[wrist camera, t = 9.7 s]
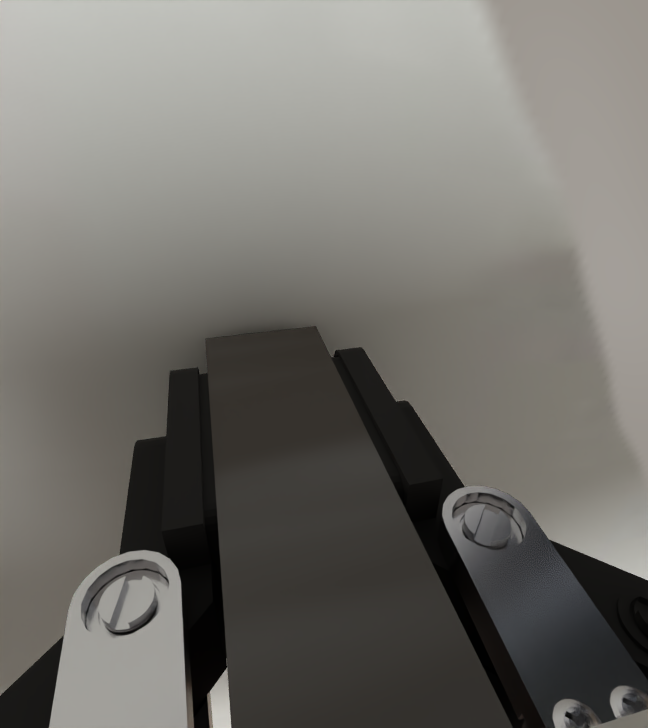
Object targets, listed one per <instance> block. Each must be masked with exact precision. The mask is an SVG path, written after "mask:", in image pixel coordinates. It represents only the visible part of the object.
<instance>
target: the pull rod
mask: <svg viewBox="0 0 648 728" xmlns="http://www.w3.org/2000/svg"><path fill="white" fill-rule="evenodd" d="M205 340H206V355H207V370H208V385H209V400H210V415H211V430H212V445H213V459H214V474H215V489H216V504H217V519H218V534H219V549H220V564H221V579H222V593H223V608H224V623H225V638H226V653H227V668H228V683H229V698H230V712H231V727H232V728H513V727H512V725H511V723H510V721H509V719H508V717H507V715H506V713H505V711H504V709H503V707H502V705H501V703H500V701H499V699H498V697H497V695H496V693H495V691H494V688H493V686H492V684H491V682H490V680H489V678H488V676H487V674H486V672H485V670H484V668H483V666H482V664H481V662H480V660H479V658H478V656H477V654H476V652H475V650H474V648H473V646H472V644H471V642H470V640H469V638H468V636H467V634H466V631H465V629H464V627H463V625H462V623H461V621H460V619H459V617H458V615H457V613H456V611H455V609H454V607H453V605H452V603H451V601H450V599H449V597H448V595H447V593H446V591H445V589H444V587H443V585H442V583H441V581H440V579H439V577H438V574H437V572H436V570H435V568H434V566H433V564H432V562H431V560H430V558H429V556H428V554H427V552H426V550H425V548H424V546H423V544H422V542H421V540H420V538H419V536H418V534H417V532H416V530H415V528H414V526H413V524H412V522H411V520H410V517H409V515H408V513H407V511H406V509H405V507H404V505H403V503H402V501H401V499H400V497H399V495H398V493H397V491H396V489H395V487H394V485H393V483H392V481H391V479H390V477H389V475H388V473H387V471H386V469H385V467H384V465H383V463H382V460H381V458H380V456H379V454H378V452H377V450H376V448H375V446H374V444H373V442H372V440H371V438H370V436H369V434H368V432H367V430H366V428H365V426H364V424H363V422H362V420H361V418H360V416H359V414H358V412H357V410H356V408H355V406H354V403H353V401H352V399H351V397H350V395H349V393H348V391H347V389H346V387H345V385H344V383H343V381H342V379H341V377H340V375H339V373H338V371H337V369H336V367H335V365H334V363H333V361H332V359H331V357H330V355H329V353H328V351H327V349H326V346H325V344H324V342H323V340H322V338H321V336H320V334H319V332H318V330H317V328H316V326H315V327H306V328H297V329H288V330H279V331H270V332H261V333H252V334H243V335H234V336H225V337H216V338H207V339H205Z"/></svg>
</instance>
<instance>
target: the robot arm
mask: <svg viewBox="0 0 648 728" xmlns="http://www.w3.org/2000/svg"><path fill="white" fill-rule="evenodd" d="M331 359H332V361H333V363H334V365H335V367H336V369H337V371H338V373H339V375H340V377H341V379H342V381H343V383H344V385H345V387H346V389H347V391H348V393H349V395H350V397H351V399H352V401H353V403H354V406H355V408H356V410H357V412H358V414H359V416H360V418H361V420H362V422H363V424H364V426H365V428H366V430H367V432H368V434H369V436H370V438H371V440H372V442H373V444H374V446H375V448H376V450H377V452H378V454H379V456H380V458H381V460H382V463H383V465H384V467H385V469H386V471H387V473H388V475H389V477H390V479H391V481H392V483H393V485H394V487H395V489H396V491H397V493H398V495H399V497H400V499H401V501H402V503H403V505H404V507H405V509H406V511H407V513H408V515H409V517H410V520H411V522H412V524H413V526H414V528H415V530H416V532H417V534H418V536H419V538H420V540H421V542H422V544H423V546H424V548H425V550H426V552H427V554H428V556H429V558H430V560H431V562H432V564H433V566H434V568H435V570H436V572H437V574H438V577H439V579H440V581H441V583H442V585H443V587H444V589H445V591H446V593H447V595H448V597H449V599H450V601H451V603H452V605H453V607H454V609H455V611H456V613H457V615H458V617H459V619H460V621H461V623H462V625H463V627H464V629H465V631H466V634H467V636H468V638H469V640H470V642H471V644H472V646H473V648H474V650H475V652H476V654H477V656H478V658H479V660H480V662H481V664H482V666H483V668H484V670H485V672H486V674H487V676H488V678H489V680H490V682H491V684H492V686H493V688H494V691H495V693H496V695H497V697H498V699H499V701H500V703H501V705H502V707H503V709H504V711H505V713H506V715H507V717H508V719H509V721H510V723H511V725H512V727H513V728H648V580H645V579H643V578H640V577H638V576H636V575H633V574H631V573H628V572H626V571H623V570H621V569H619V568H616V567H614V566H611V565H609V564H607V563H604V562H602V561H599V560H597V559H595V558H592V557H590V556H587V555H585V554H582V553H580V552H578V551H575V550H573V549H570V548H568V547H566V546H563V545H561V544H558V543H556V542H553V541H551V540H549V539H548V538H547V536H546V535H545V533H544V532H543V530H542V529H541V528H540V526H539V525H538V523H537V522H536V521H535V519H534V518H533V516H532V515H531V513H530V512H529V511H528V510H527V509H526V508H525V507H524V506H523V504H522V503H521V502H519V501H518V500H516V499H515V498H514V497H512V496H511V495H509V494H507V493H505V492H502V491H500V490H498V489H495V488H491V487H486V486H467V487H464V485H463V484H462V482H461V480H460V479H459V477H458V476H457V474H456V473H455V471H454V470H453V468H452V467H451V465H450V464H449V462H448V461H447V459H446V458H445V456H444V455H443V453H442V452H441V450H440V449H439V447H438V445H437V444H436V442H435V441H434V439H433V438H432V436H431V435H430V433H429V432H428V430H427V429H426V427H425V426H424V424H423V423H422V421H421V420H420V418H419V417H418V415H417V414H416V412H415V410H414V409H413V407H412V406H411V405H410V404H409V403H408V402H407V401H398V402H396V401H395V400H394V398H393V396H392V395H391V393H390V392H389V390H388V388H387V387H386V385H385V384H384V382H383V380H382V379H381V377H380V375H379V374H378V372H377V371H376V369H375V367H374V366H373V364H372V363H371V361H370V359H369V358H368V356H367V354H366V353H365V351H364V350H363V349H362V348H361V347H359V348H351V349H343V350H336V352H335V355H334V357H332V358H331ZM226 658H227V653H226V638H225V623H224V608H223V593H222V579H221V564H220V549H219V534H218V519H217V504H216V489H215V474H214V459H213V445H212V430H211V415H210V400H209V385H208V373H206V374H199V369H198V367H197V368H189V369H181V370H173V371H170V379H169V398H168V416H167V434H166V436H165V437H158V438H151V439H145V440H138V441H137V442H136V443H135V447H134V453H133V460H132V467H131V475H130V482H129V489H128V497H127V504H126V511H125V519H124V526H123V533H122V540H121V548H120V555H118V556H115V557H112V558H111V559H109V560H108V561H106V562H104V563H103V564H101V565H99V566H98V567H96V568H95V569H94V570H93V571H92V572H91V573H90V574H89V575H88V576H87V577H86V578H85V579H84V580H83V581H82V583H81V584H80V586H79V587H78V589H77V590H76V592H75V593H74V595H73V598H72V601H71V604H70V607H69V610H68V615H67V621H66V627H65V633H64V636H63V637H62V638H61V639H60V640H59V641H58V642H57V643H56V644H54V645H53V646H52V647H51V648H50V649H49V650H48V651H47V652H46V653H45V654H44V655H43V656H42V657H41V658H40V659H39V660H38V661H37V662H35V663H34V664H33V665H32V666H31V667H30V668H29V669H28V670H27V671H26V672H25V673H24V674H23V675H22V676H21V677H20V678H19V679H18V680H16V681H15V682H14V683H13V684H12V685H11V686H10V687H9V688H8V689H7V690H6V691H5V692H4V693H3V694H2V695H1V696H0V728H213V721H212V710H211V698H210V690H211V689H212V687H213V686H214V685H215V683H216V682H217V681H218V679H219V678H220V676H221V675H222V674H223V672H224V671H225V670H226V668H227V662H226Z"/></svg>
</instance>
